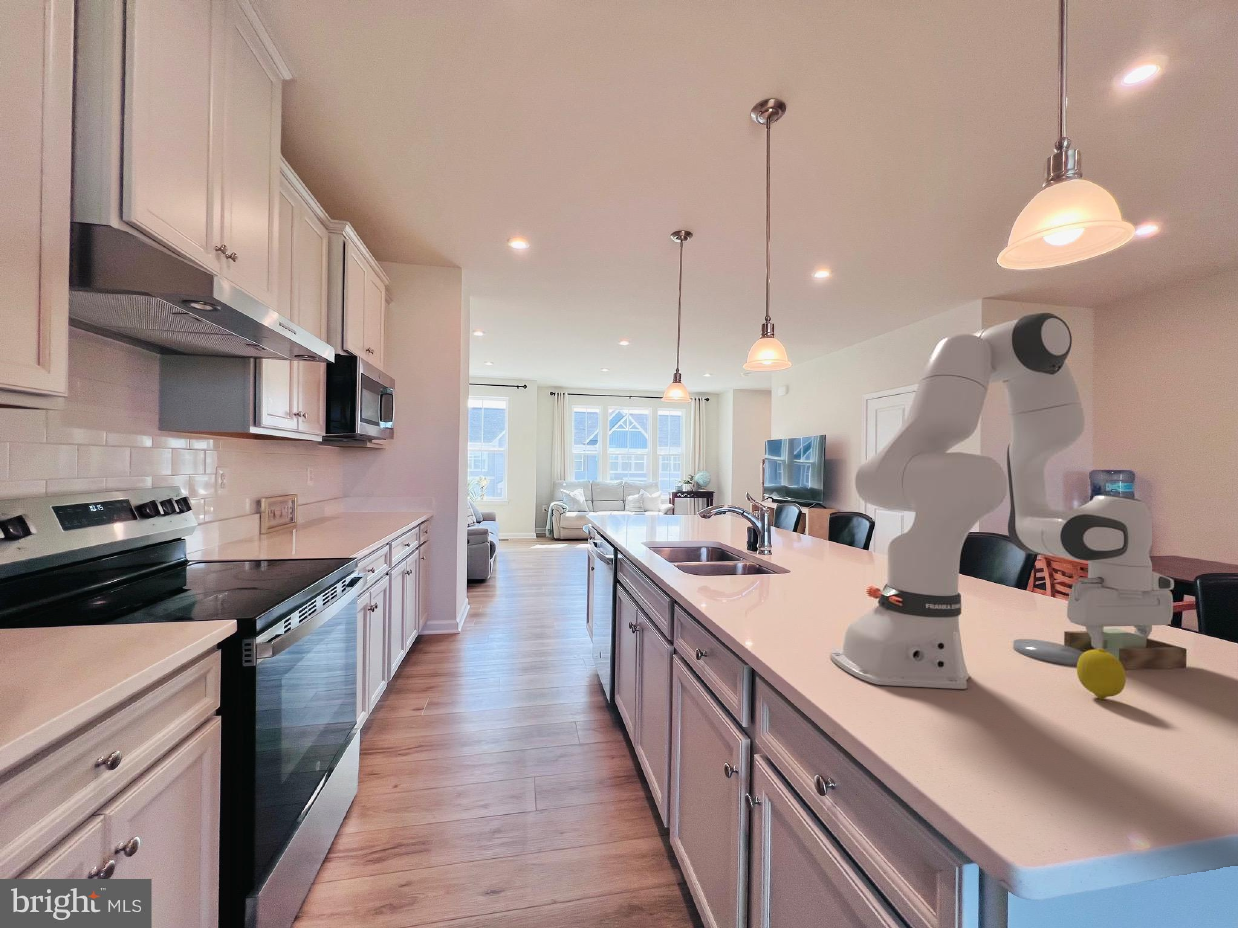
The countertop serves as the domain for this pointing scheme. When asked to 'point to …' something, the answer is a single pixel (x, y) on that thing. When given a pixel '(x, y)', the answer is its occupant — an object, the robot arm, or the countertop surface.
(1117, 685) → the lemon
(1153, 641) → the cubby
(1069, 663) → the grey round glossy part
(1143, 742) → the countertop surface
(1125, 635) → the cube
